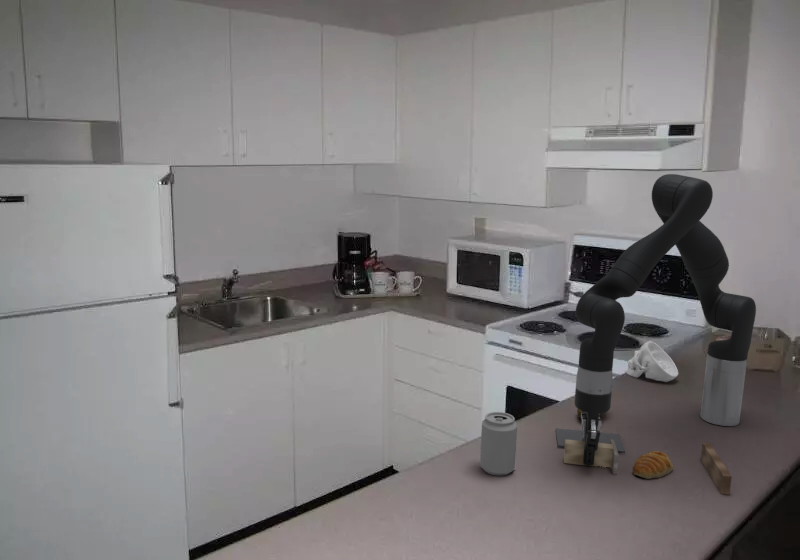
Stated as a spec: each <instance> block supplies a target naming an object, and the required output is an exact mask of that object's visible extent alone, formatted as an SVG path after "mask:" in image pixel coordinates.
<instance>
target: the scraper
mask: <svg viewBox="0 0 800 560" xmlns="http://www.w3.org/2000/svg"><path fill="white" fill-rule="evenodd" d="M583 445H584V441H576V440H566V439H565V447H564V448H563V449H564V450H563V462H564V463H563V464H571V465H580V466H585V465H584V463H583V458H584V447H583ZM619 454H620V453H618V451H617V448H616V445H615V442H614V440H611V439H610V444H605V443H598V449H597V451H595V455H594V465H592V466H591V465H590V466H589V467H597V466H600V467H599V468H606V467H610V468H609V469H611V468H612V469H611V472H612V475H617V474H618V466H619V459H620V458H619V457H620V455H619ZM601 466H602V467H601Z"/></svg>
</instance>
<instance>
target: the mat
mask: <svg viewBox="0 0 800 560" xmlns="http://www.w3.org/2000/svg"><path fill="white" fill-rule="evenodd" d="M555 435H556V436H555V437H556V443H557V444H558V445H557V448H558V447H560V448H559V449H564V447H565V439H566V440H576V441H583V440H582V438H583V436H582V431H581V429H569V428H557V427H556V428H555ZM610 439H611V440H614V442H615V445H616V448H617V451H618V454H620V453H625V454H626V450H625V446H624V444H623V441H622V438H621V435H620V433H613V432H601V431H600V437H599V442H598V443H605V444H610Z"/></svg>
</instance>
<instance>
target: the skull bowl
mask: <svg viewBox="0 0 800 560" xmlns="http://www.w3.org/2000/svg"><path fill="white" fill-rule="evenodd" d="M627 364H628V365H627V369H626V371H625V372H626V375H628V376H630V377H633V378H639V377H640V376H641V375H645V378H646V379H651V380H654V381H657V382H664V383H668V382H670V381H673V380H674V379H675V378H677V376H679V370H678V368H677V366H676V364H675V362H674V360H673V359H672V358H671V356H670V355H669V354H668V353H667V352H666V351H664V349H663V348H661V346H660V345H659V344H657V343H655V342H654V341H652V340H649V341H648V340H647V342H645V343H643V344H642V345H641V347H640V349H639V350H634V355H633V356H632V358H630V359H629V360H628V361H627Z"/></svg>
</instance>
